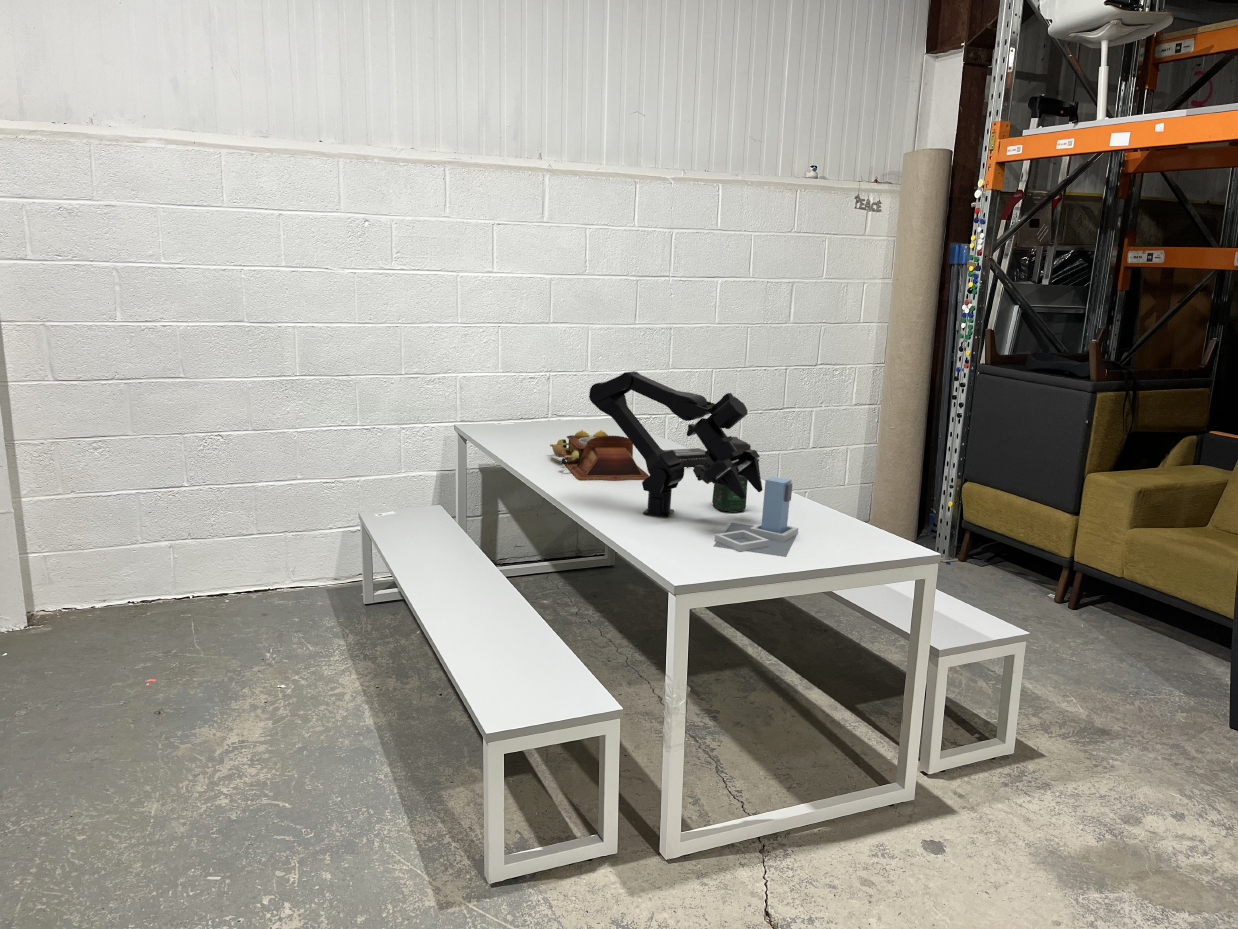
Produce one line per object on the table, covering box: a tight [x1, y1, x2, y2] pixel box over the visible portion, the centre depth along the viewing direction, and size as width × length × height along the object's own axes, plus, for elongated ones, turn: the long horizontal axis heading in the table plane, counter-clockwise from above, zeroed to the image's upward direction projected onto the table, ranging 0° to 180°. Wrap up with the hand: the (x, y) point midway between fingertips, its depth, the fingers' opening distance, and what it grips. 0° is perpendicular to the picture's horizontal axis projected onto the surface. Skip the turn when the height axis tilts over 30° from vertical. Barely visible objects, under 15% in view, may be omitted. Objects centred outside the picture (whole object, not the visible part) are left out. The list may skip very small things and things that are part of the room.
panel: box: [712, 521, 799, 558], centre depth 210 cm, size 22×17×2 cm
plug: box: [761, 476, 793, 534], centre depth 213 cm, size 5×4×13 cm
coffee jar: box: [711, 436, 752, 513], centre depth 238 cm, size 10×8×19 cm
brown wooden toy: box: [549, 429, 650, 482], centre depth 280 cm, size 24×12×40 cm
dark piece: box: [663, 447, 707, 468], centre depth 290 cm, size 20×14×17 cm
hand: (752, 494), depth 216 cm, fingers open, 9 cm apart
